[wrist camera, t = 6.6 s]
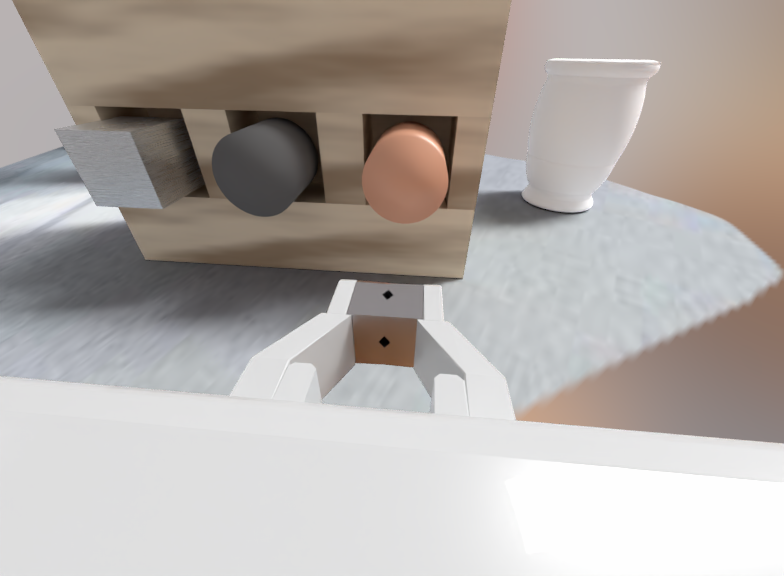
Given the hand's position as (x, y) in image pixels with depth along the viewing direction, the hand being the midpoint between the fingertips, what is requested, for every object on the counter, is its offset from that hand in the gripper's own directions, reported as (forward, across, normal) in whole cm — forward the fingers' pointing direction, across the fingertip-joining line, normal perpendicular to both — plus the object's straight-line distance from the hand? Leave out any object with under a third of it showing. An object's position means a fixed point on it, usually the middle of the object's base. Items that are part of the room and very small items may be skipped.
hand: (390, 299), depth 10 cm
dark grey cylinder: (+13, -9, -3) cm, 16 cm away
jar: (+34, +18, -9) cm, 40 cm away
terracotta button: (+13, 0, -3) cm, 14 cm away
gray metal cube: (+13, -18, -2) cm, 23 cm away
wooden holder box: (+20, -9, -9) cm, 24 cm away
